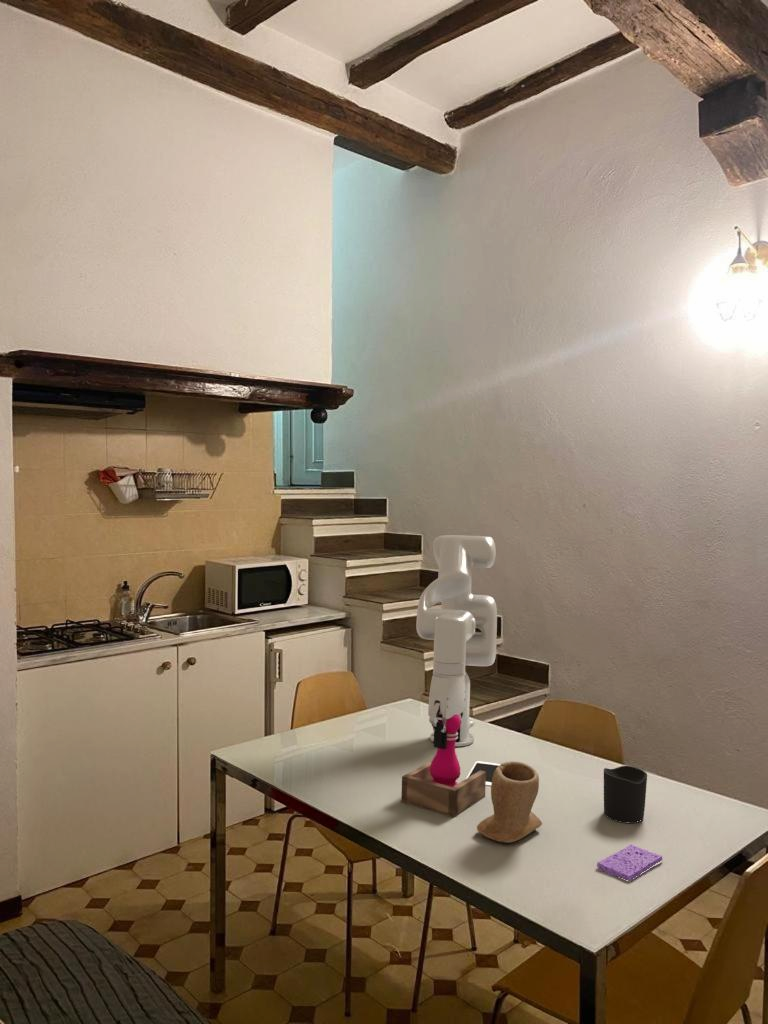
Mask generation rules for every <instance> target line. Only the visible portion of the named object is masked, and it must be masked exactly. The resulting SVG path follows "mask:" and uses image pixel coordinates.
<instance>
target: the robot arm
mask: <svg viewBox="0 0 768 1024" xmlns="http://www.w3.org/2000/svg"><path fill="white" fill-rule="evenodd" d="M432 549H433V556H434V559H435V561H436V564H437V566H438V573H437V574H438V577H437V578H436V579H434V580H433V581H432V582H430V584H429V585H428V586H427V587H426V588H425V589H424V590H423V591H422V593H421V595H420V596H419V600H418V605H417V612H416V622H415V623H416V625H415V626H416V628H415V629H416V633H417V634H418V636H419V637H420V638H421V639H424V640H430V641H433V661H432V663H433V665H432V666H433V668H432V670H433V671H432V676H431V681H430V686H429V687H430V688H429V696H428V710H427V711H428V720H429V723H430V724H431V727H432V732H431V733H430V737H429V739H430V740H431V742H432V743H433V747H434V748H436V749H438V748H440V749H446V748H447V732H445V730H446V725H447V720H448V719H450V718H452V717H453V716H454V715H456V714H458V715H459V717H460V719H461V726H460V728H459V729H458V730H457V732H458V739H456V742H455V748H456V747H466V746H469V745H472V743H474V740H475V739H474V738H475V737H474V735H473V734H471V733H470V731H469V730H470V729H471V728H473V727H474V725H475V722H474V721H473V720H470V700H471V698H470V697H471V680H470V677H469V675H468V673H467V672H466V666H473V667H489V666H492V665H493V664H494V663H495V662H496V661H495V660H496V656H497V638H498V637H497V633H498V631H497V629H498V609H497V608H498V607H497V603H496V600H495V599H494V597H492V596H491V595H487V594H473V593H472V584H473V583H472V579H473V578H472V568H479V569H480V568H483V569H485V568H486V569H490V568H492V567H493V566H494V565H495V561H496V555H497V553H496V552H497V551H496V549H497V548H496V543H495V541H494V538H493V537H492V536H486V535H485V536H484V535H460V534H459V535H458V534H451V535H450V534H446V535H439V536H437V537H436V538H434V541H433V544H432ZM438 603H441V606H440V608H433V607H434V605H436V604H438ZM476 629H478V630H480V631H481V632H477V631H476ZM439 715H443V717H442V718H441V717H439ZM439 720H441V721H443V723H442V725H441V723H440V722H439Z"/></svg>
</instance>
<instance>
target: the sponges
mask: <svg viewBox="0 0 768 1024" xmlns="http://www.w3.org/2000/svg"><path fill="white" fill-rule="evenodd" d="M661 860H662V861H663V855H662V854H659V853H656V852H654V851H650V852H649V850H648V849H644V848H641V847H640V846H637V845H633V844H629V845H627V846H625V847H624V848H622V849H620V850H618V851H616V852H614V853H612V854H609V856H606V857H604V858H602V859H601V860H598V861H597V864H596V867H597V868H598V870H599V869H600V870H599V871H601V870H602V872H604V873H606V872H607V874H608V873H610V874H609V875H611V874H612V875H611V876H614V875H615V876H614V877H617V876H618V877H620V878H619V879H621V878H623V879H625V880H628V881H630V880H631V881H633V880H634V879H633V878H635V877H636V876H638V875H640V874H641V873H642V872H644V871H646V870H647V869H649V868H650V867H652V866H653V865H655V864H656V863H658V862H660V861H661ZM641 875H642V874H641ZM641 875H640V876H641ZM618 877H617V878H618ZM638 877H639V876H638ZM623 879H622V880H623ZM632 879H633V880H632ZM635 879H636V878H635ZM625 880H624V881H625ZM628 881H627V882H628ZM631 881H630V882H631Z"/></svg>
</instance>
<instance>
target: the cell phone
mask: <svg viewBox="0 0 768 1024" xmlns="http://www.w3.org/2000/svg"><path fill="white" fill-rule="evenodd" d="M501 764H502V763H495V762H488V761H479V760H478V761H477V760H476V761H475V763H474V764H473V766H472V767H471V769H470V770H469V772H468V774H467V776H466V777H465V779H467V778H468V777H470V776H472V775H473V774H475V773H477V772H478V771H480V770H481V771H485V772H486V784H485V787H491V784H492V778H493V774H494V772H495V770H496V768H497V767H498V766H499V765H501Z"/></svg>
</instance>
